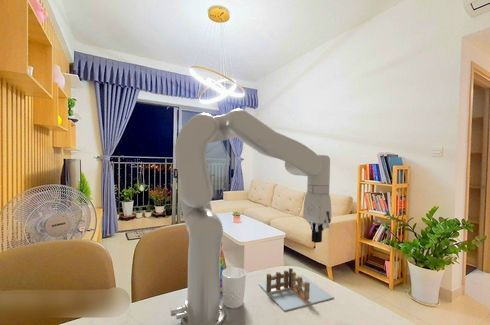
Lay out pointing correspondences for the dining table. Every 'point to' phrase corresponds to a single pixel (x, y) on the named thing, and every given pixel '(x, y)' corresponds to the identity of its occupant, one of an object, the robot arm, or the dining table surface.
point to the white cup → (233, 287)
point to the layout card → (296, 295)
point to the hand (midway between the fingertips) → (316, 241)
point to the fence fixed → (279, 280)
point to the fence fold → (300, 285)
